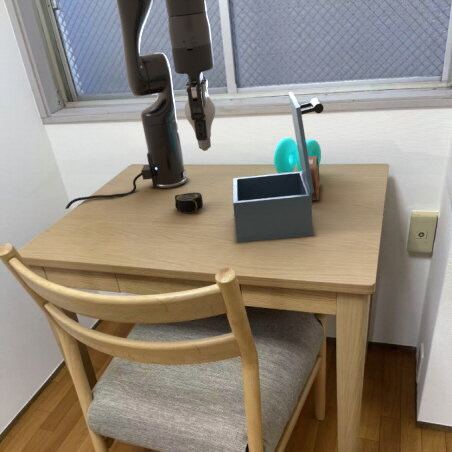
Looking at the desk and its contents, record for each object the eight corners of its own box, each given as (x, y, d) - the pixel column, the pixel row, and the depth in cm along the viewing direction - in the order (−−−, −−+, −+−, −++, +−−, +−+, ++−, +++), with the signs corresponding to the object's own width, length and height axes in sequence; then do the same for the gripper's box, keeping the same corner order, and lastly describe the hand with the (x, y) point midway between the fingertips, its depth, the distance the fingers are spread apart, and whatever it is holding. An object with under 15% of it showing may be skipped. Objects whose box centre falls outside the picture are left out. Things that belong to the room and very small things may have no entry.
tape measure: (203, 203, 121) (201, 189, 119) (204, 213, 115) (202, 199, 113) (176, 207, 121) (174, 192, 119) (176, 217, 115) (173, 203, 113)
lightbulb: (224, 145, 100) (217, 89, 94) (213, 155, 95) (206, 96, 89) (197, 146, 102) (189, 91, 96) (186, 155, 97) (177, 98, 91)
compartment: (237, 242, 101) (233, 203, 96) (237, 214, 113) (233, 178, 108) (312, 235, 99) (312, 195, 95) (303, 208, 112) (303, 171, 107)
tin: (317, 205, 112) (317, 171, 107) (304, 206, 113) (303, 171, 108) (320, 182, 124) (320, 150, 119) (307, 183, 125) (307, 151, 120)
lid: (296, 108, 85) (325, 100, 85) (288, 92, 98) (314, 85, 97) (309, 193, 94) (337, 187, 94) (301, 169, 107) (325, 163, 106)
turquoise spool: (290, 168, 136) (289, 132, 130) (322, 171, 131) (322, 134, 125) (272, 180, 130) (270, 143, 124) (305, 184, 124) (305, 146, 119)
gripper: (175, 41, 94) (188, 128, 103) (166, 49, 82) (181, 147, 91) (213, 36, 93) (222, 124, 102) (209, 44, 81) (220, 143, 90)
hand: (203, 135), depth 97 cm, fingers closed on lightbulb, 6 cm apart
